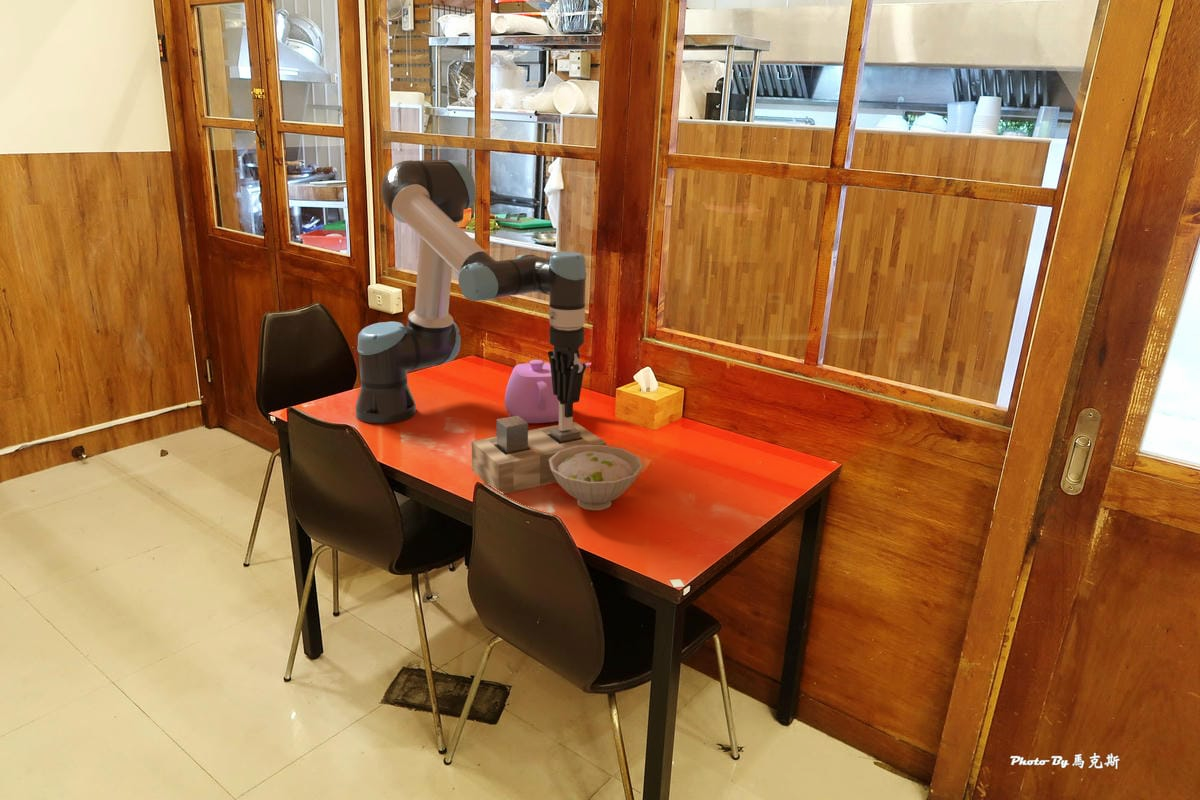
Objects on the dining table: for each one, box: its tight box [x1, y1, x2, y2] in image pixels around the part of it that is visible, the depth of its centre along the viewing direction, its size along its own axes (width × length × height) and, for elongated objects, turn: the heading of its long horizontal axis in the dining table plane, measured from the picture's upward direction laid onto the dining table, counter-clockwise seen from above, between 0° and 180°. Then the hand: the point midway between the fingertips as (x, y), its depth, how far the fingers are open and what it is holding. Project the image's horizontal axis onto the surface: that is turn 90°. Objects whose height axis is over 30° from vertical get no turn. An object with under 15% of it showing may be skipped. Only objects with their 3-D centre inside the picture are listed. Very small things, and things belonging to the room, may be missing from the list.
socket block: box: [471, 421, 607, 495], centre depth 176 cm, size 14×26×7 cm, turn 121°
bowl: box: [549, 445, 644, 511], centre depth 162 cm, size 19×19×10 cm
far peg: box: [550, 426, 580, 444], centre depth 179 cm, size 5×5×6 cm
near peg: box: [496, 416, 529, 455], centre depth 171 cm, size 5×5×6 cm
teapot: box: [504, 359, 592, 424], centre depth 206 cm, size 23×21×15 cm
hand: (565, 428), depth 178 cm, fingers closed
